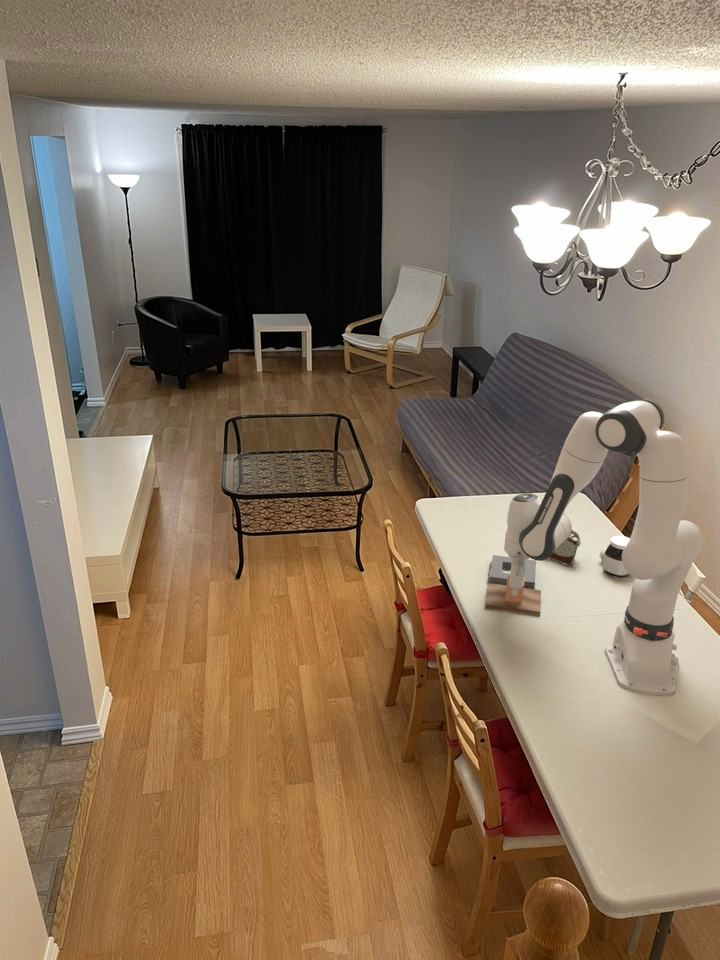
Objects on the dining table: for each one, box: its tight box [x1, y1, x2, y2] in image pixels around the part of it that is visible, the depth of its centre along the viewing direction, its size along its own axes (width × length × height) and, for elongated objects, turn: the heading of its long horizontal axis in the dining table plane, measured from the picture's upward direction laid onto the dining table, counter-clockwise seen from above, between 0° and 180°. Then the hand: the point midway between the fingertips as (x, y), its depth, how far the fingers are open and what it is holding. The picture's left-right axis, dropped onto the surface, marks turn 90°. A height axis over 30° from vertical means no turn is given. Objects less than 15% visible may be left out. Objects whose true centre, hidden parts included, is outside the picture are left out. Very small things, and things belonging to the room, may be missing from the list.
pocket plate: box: [488, 554, 537, 590], centre depth 237 cm, size 14×14×2 cm
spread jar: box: [599, 535, 631, 578], centre depth 240 cm, size 12×11×12 cm
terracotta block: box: [505, 575, 525, 603], centre depth 222 cm, size 5×5×6 cm
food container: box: [548, 529, 582, 567], centre depth 246 cm, size 12×6×10 cm, turn 47°
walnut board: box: [484, 582, 542, 617], centre depth 223 cm, size 12×16×2 cm
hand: (515, 585), depth 221 cm, fingers open, 8 cm apart
